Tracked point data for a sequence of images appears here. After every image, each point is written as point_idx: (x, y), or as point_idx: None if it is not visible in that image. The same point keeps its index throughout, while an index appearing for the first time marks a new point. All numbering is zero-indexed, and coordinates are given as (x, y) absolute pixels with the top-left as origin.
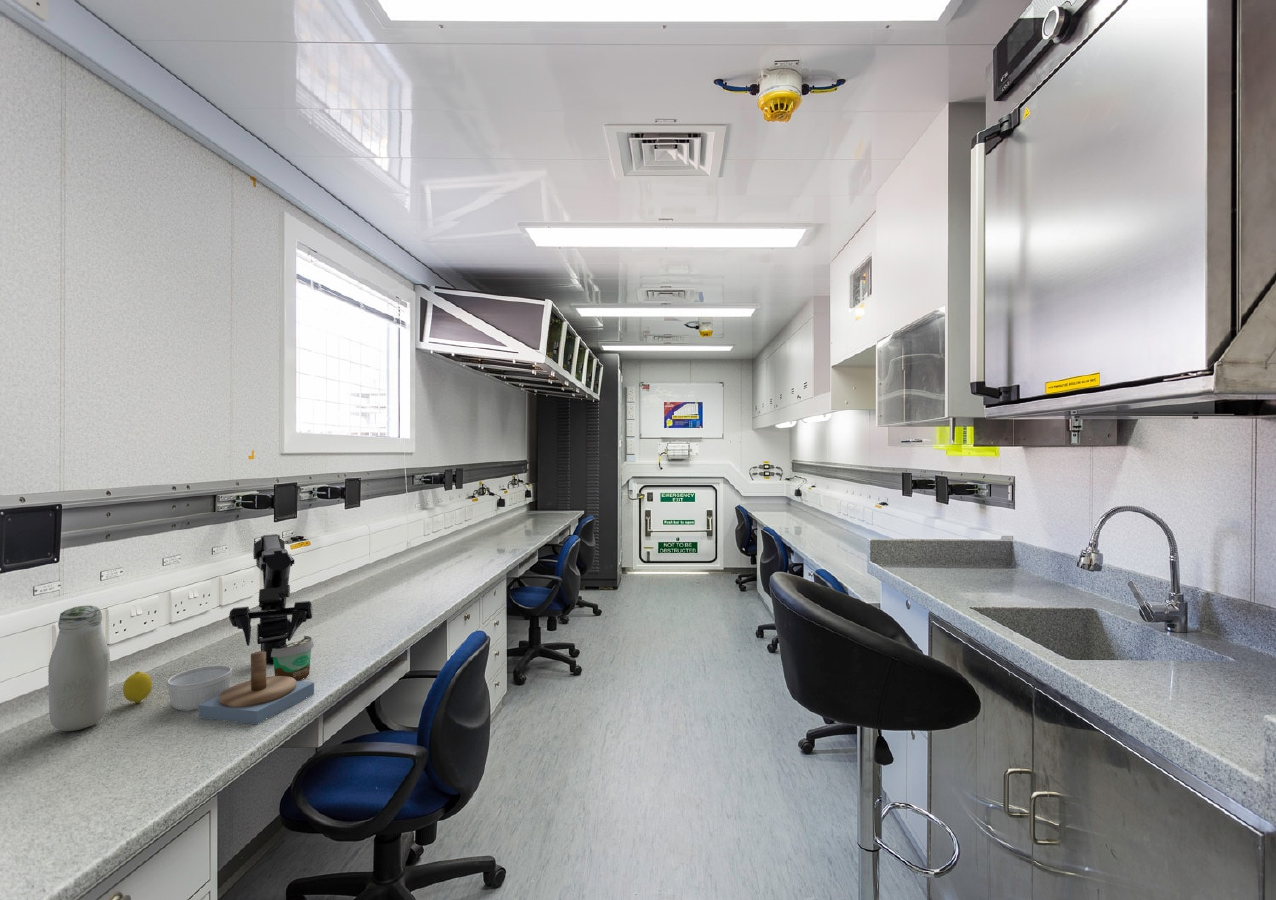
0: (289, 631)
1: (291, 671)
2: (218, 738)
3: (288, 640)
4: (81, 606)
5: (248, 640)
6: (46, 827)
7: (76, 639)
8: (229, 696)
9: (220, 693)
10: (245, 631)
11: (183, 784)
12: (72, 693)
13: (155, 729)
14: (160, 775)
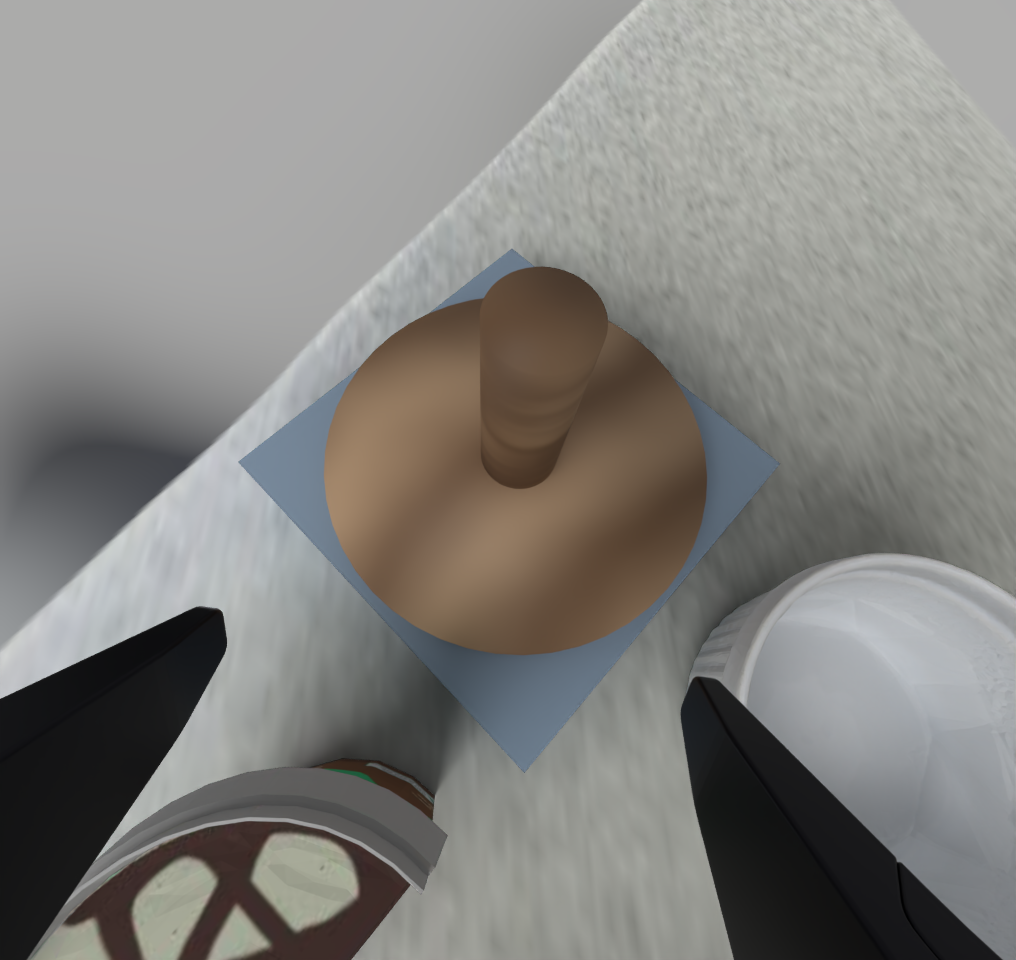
0: (117, 674)
1: (322, 768)
2: (623, 251)
3: (221, 631)
4: None
5: (715, 703)
6: (875, 41)
7: None
8: (652, 418)
9: (718, 633)
10: (874, 860)
11: (654, 57)
12: None
13: (880, 454)
14: (725, 120)
